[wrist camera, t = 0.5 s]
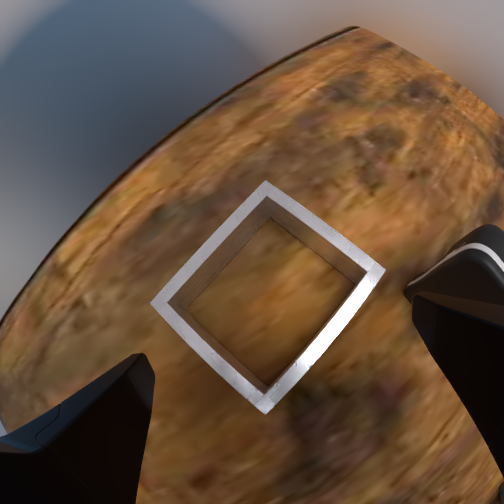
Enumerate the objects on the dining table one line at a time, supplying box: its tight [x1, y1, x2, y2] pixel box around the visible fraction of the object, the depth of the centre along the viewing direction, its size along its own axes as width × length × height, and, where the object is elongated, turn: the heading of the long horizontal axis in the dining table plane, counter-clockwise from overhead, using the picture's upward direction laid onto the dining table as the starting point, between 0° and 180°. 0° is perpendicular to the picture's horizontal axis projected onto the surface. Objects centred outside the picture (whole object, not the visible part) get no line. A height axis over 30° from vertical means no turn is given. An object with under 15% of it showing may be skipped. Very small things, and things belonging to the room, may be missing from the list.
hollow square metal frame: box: [150, 180, 386, 415], centre depth 21 cm, size 12×13×4 cm
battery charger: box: [404, 224, 504, 306], centre depth 16 cm, size 7×4×11 cm, turn 41°
